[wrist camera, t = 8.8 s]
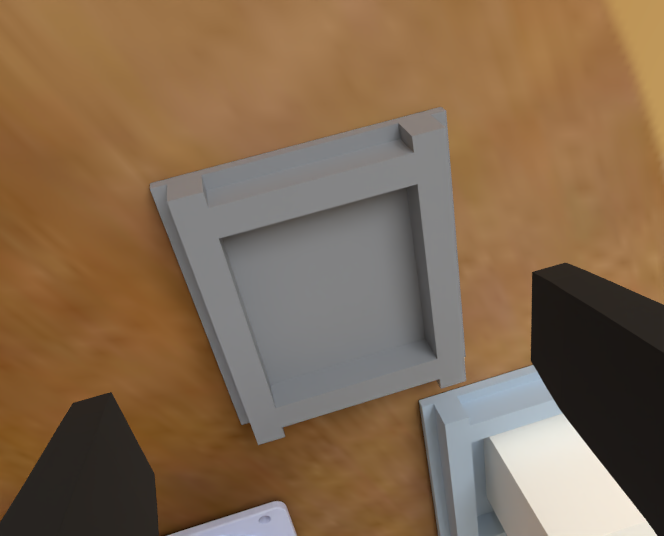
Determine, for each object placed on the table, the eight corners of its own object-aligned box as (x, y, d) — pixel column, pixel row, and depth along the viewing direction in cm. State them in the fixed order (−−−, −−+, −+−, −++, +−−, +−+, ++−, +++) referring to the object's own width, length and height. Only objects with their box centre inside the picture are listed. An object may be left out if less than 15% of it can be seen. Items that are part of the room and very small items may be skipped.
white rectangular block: (486, 497, 29) (553, 623, 24) (482, 425, 26) (557, 551, 21) (564, 471, 29) (646, 590, 24) (568, 399, 26) (662, 516, 21)
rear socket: (438, 539, 30) (451, 568, 29) (418, 400, 25) (433, 428, 23) (603, 484, 31) (622, 510, 30) (618, 338, 26) (643, 362, 24)
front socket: (240, 417, 23) (245, 449, 22) (150, 183, 18) (148, 206, 16) (461, 350, 24) (478, 376, 22) (440, 107, 18) (462, 122, 17)
